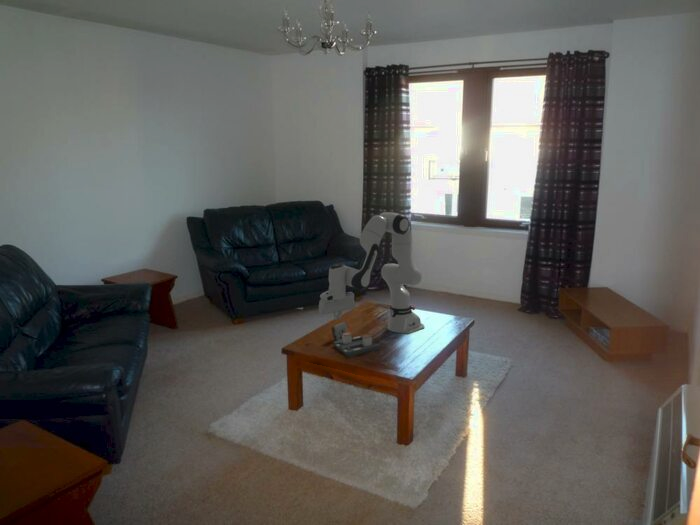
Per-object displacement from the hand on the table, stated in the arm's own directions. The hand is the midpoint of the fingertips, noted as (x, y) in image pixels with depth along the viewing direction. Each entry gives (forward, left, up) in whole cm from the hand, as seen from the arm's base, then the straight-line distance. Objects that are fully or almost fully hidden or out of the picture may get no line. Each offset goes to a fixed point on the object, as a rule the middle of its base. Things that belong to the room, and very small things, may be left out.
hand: (337, 318), depth 274 cm
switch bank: (-10, +4, -17) cm, 20 cm away
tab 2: (-14, +8, -15) cm, 22 cm away
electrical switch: (-8, -11, -17) cm, 22 cm away
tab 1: (-6, 0, -15) cm, 16 cm away
